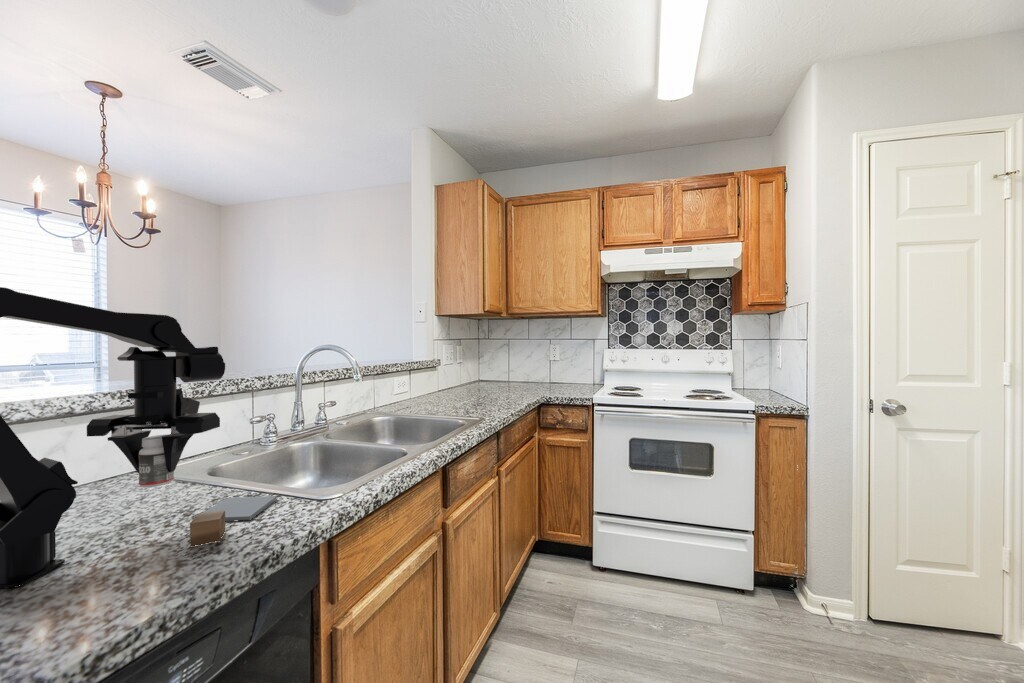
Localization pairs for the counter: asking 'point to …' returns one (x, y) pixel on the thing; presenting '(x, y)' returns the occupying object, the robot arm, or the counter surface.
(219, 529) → the walnut block
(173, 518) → the counter surface
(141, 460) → the pill bottle
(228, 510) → the coaster
